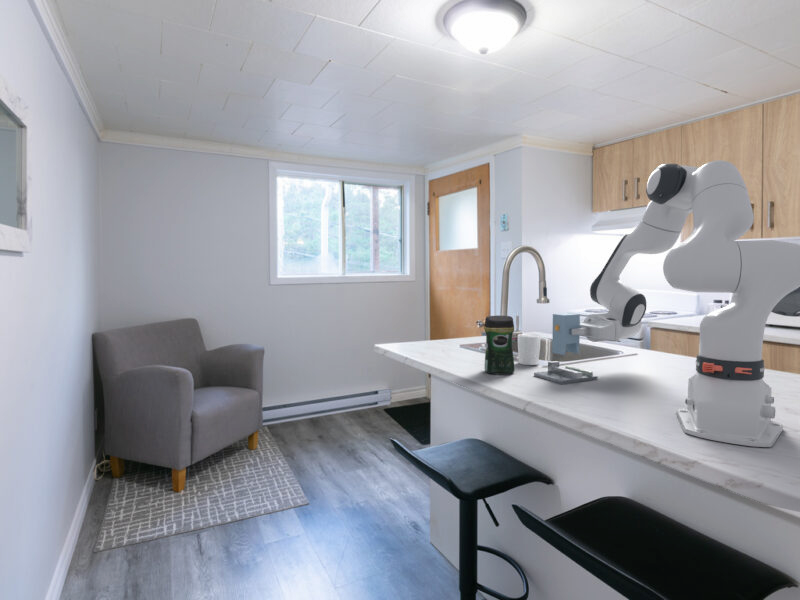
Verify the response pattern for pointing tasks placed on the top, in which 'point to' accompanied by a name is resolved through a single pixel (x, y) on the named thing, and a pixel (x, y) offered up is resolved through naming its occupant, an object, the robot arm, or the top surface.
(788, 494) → the top surface
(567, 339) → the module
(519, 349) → the white cup
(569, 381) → the rail plate
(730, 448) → the top surface
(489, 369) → the coffee jar
